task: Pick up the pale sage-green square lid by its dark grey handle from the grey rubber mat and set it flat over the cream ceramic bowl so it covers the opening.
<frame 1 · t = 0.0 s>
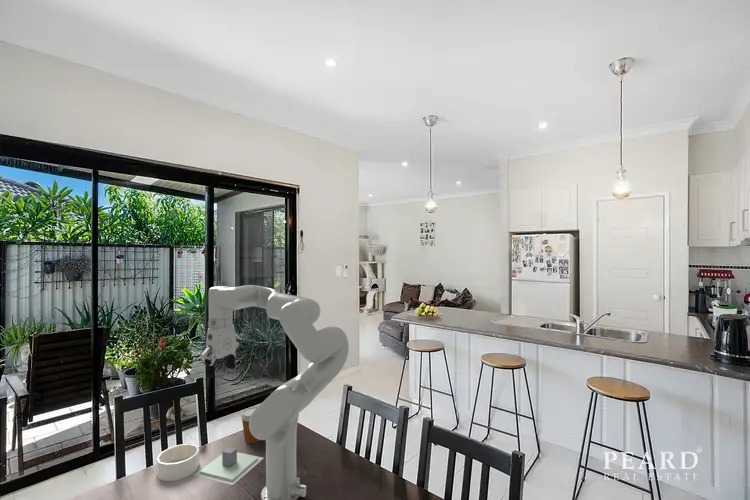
hand: (220, 372, 127), 37 cm above the table, tool pointing down, fingers open, 9 cm apart
bowl: (178, 470, 133), on the table
mat: (229, 467, 135), on the table
lid: (229, 466, 135), resting on mat
disposable coffee cup: (253, 440, 153), on the table
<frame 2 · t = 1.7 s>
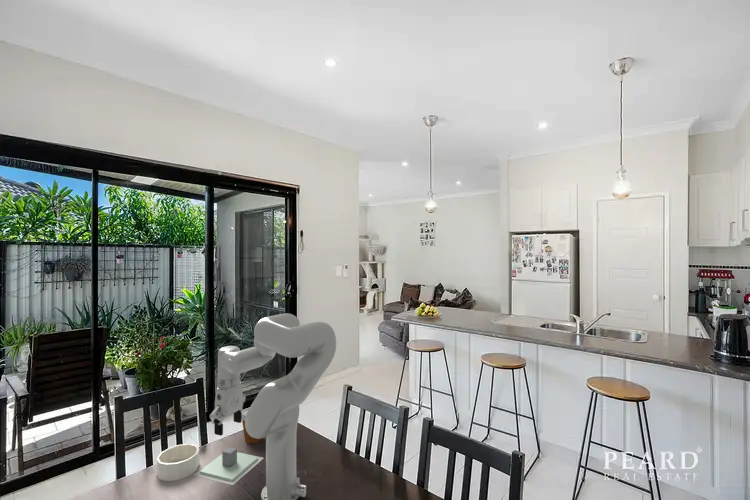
hand: (228, 428, 135), 14 cm above the table, tool pointing down, fingers open, 9 cm apart
nothing on the table moved.
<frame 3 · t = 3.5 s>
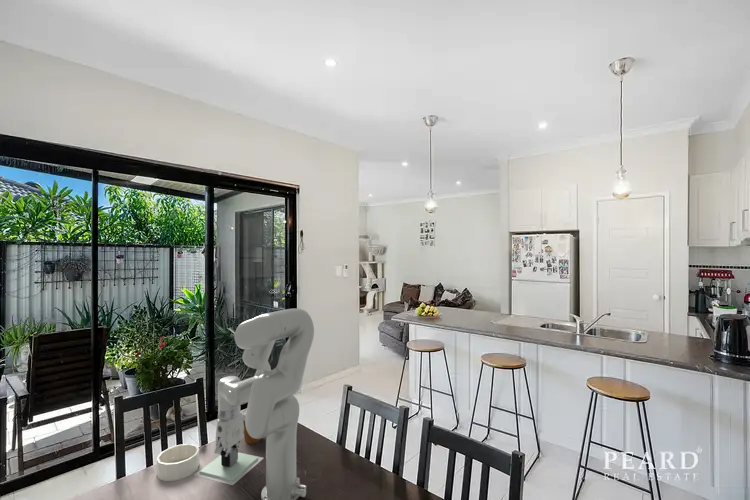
hand: (229, 462, 134), 2 cm above the table, tool pointing down, fingers closed on lid, 3 cm apart
lid: (229, 466, 135), resting on mat, touching gripper
everything else where it was.
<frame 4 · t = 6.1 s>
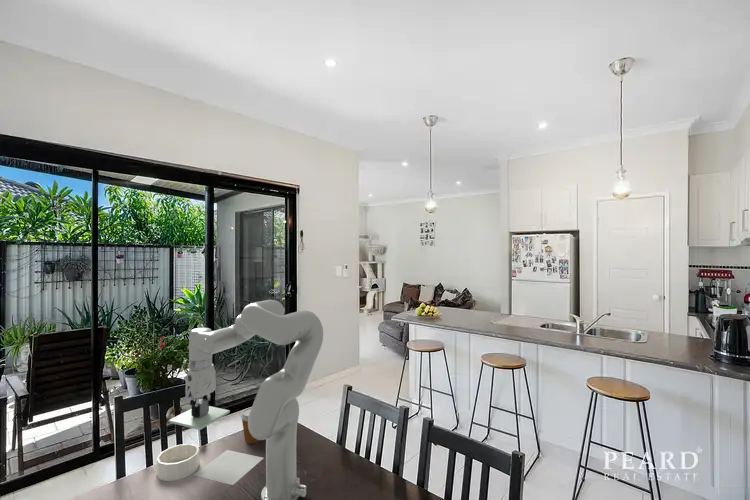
hand: (200, 413, 134), 20 cm above the table, tool pointing down, fingers closed on lid, 3 cm apart
lid: (200, 417, 134), point 18 cm above the table, touching gripper
everything else where it was.
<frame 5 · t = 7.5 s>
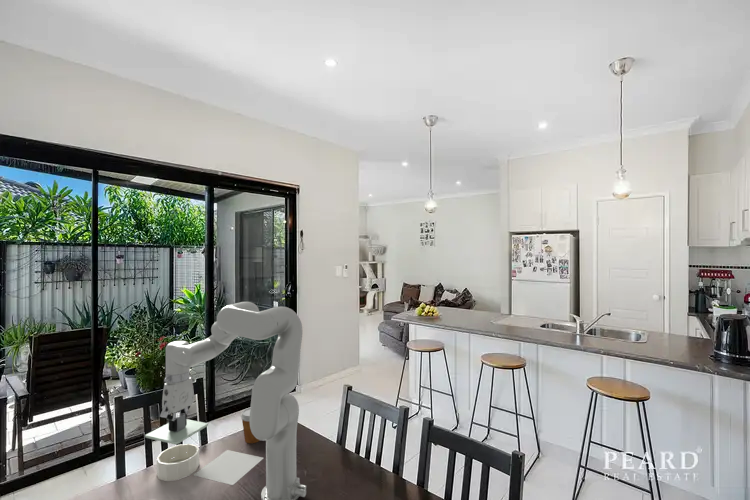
hand: (177, 427, 133), 15 cm above the table, tool pointing down, fingers closed on lid, 3 cm apart
lid: (177, 431, 133), point 14 cm above the table, touching gripper
everything else where it was.
when the fingers open (9 cm above the table, at t = 8.8 s): lid drops 2 cm, resting on bowl.
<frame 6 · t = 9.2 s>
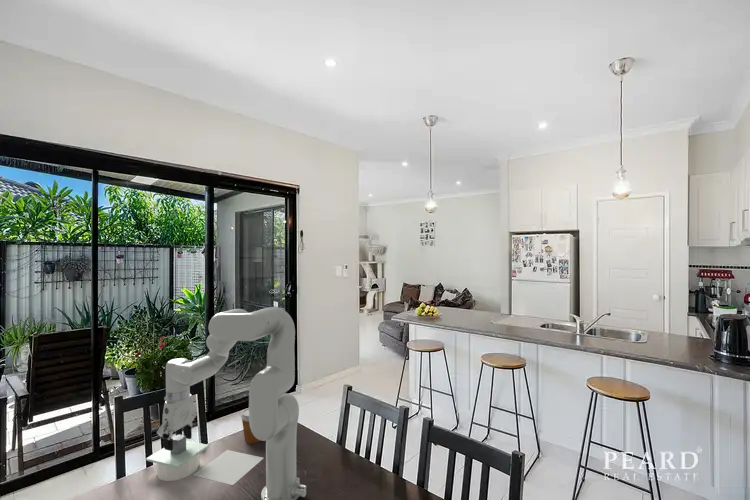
hand: (178, 443, 133), 10 cm above the table, tool pointing down, fingers open, 7 cm apart
lid: (178, 453, 133), point 6 cm above the table, touching bowl
everything else where it was.
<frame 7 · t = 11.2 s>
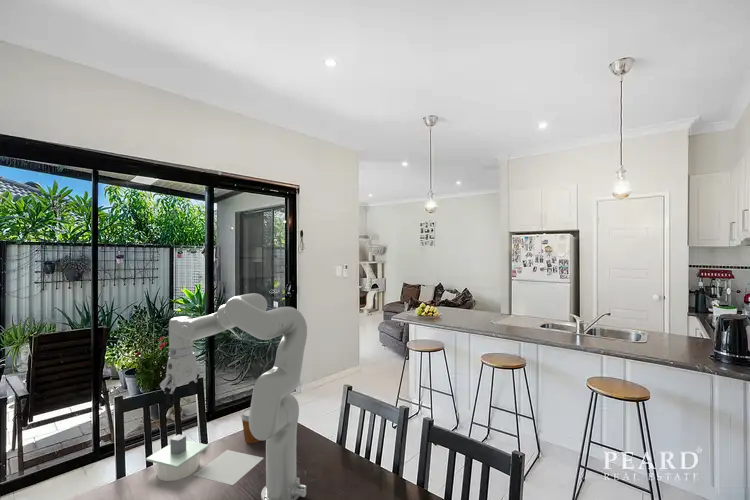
hand: (181, 398, 134), 25 cm above the table, tool pointing down, fingers open, 9 cm apart
nothing on the table moved.
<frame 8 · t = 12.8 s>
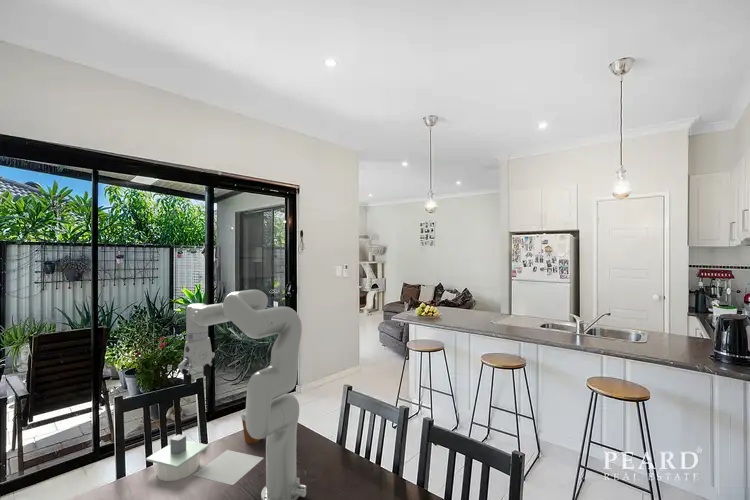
hand: (197, 380, 144), 28 cm above the table, tool pointing down, fingers open, 9 cm apart
nothing on the table moved.
at the end: lid 0.0 cm off-centre on the bowl, point 6.0 cm above the bowl's base; lid tilted 0°; the gripper is holding nothing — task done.
